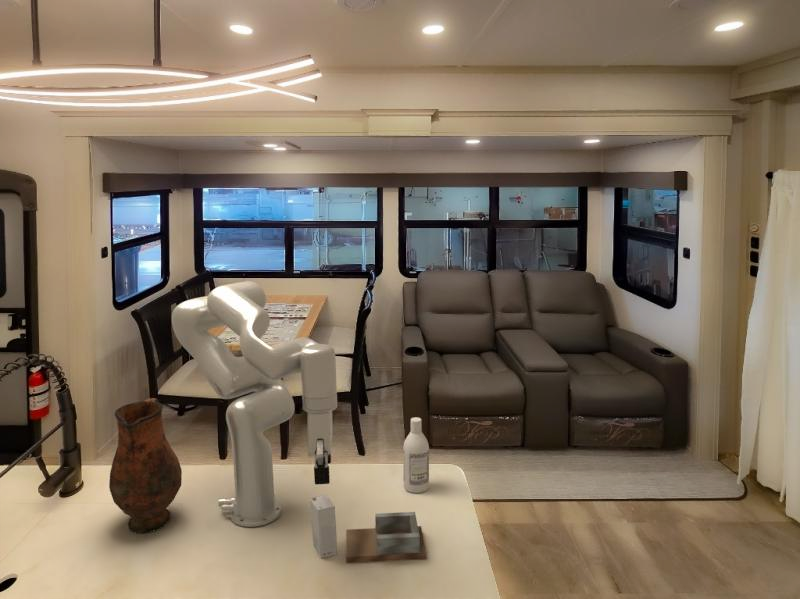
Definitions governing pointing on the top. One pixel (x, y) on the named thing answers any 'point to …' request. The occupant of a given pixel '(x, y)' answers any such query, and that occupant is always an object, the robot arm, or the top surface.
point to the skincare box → (323, 526)
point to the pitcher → (144, 467)
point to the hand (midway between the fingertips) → (323, 473)
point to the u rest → (387, 540)
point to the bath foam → (416, 459)
